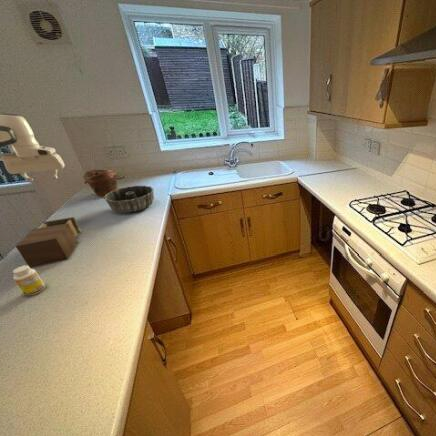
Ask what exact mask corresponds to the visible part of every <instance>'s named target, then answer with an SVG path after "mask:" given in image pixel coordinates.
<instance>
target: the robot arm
mask: <svg viewBox="0 0 436 436" xmlns="http://www.w3.org/2000/svg"><path fill="white" fill-rule="evenodd" d="M39 143H40V142H38V141H37V139H36V138H35V133H34V131H33V129H32V127H31V126H30V124H29V122H28V121H27V119H26V118H25V117H24V116H22V115H19V114H15V113H0V148H3V147H8V146H9V145H10V146H11V148H12V150H13V152H4V153H2V154H1V155H0V159H1V161H2V162H3V165H4V166H5V170H6V171H7V173H8V174H11V175H16V174H20V176H21V177H22V178H23V179H25V180H26V182H28V183H30V182H34V178H33V176H28V175H27V173H35V172H36V173H38V172H45V171H46V172H47V171H52V172H51V173H53V174H52V175H51V178H52V179H53V180H57V179H59V177H58V171H59V170H63V169H64V168H65V167H66V164H65V162H64V160H63V159H62V157H61V155H59V153H57V152H56V149H55V148H54V147H50V146H44V145H40V144H39Z"/></svg>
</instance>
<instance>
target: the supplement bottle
mask: <svg viewBox="0 0 436 436" xmlns="http://www.w3.org/2000/svg"><path fill="white" fill-rule="evenodd" d="M12 273H13V280H14V281H15V283H16V284H17V286H18V287H19V289H20V290H21V292H23V294H24V295H25V296H34V295H36V294H39V293H41V292H42V291H43V290H45V288H46V284H45V283H44V281H43V280H42V279H41V277H40V275H39V274H38V272H37V271H36V269H34V268H31V267H29V266H28V264H27V265H22V266H21V265H20V266H19V267H16V268H14V269H13V270H12Z"/></svg>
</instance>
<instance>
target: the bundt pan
mask: <svg viewBox="0 0 436 436" xmlns="http://www.w3.org/2000/svg"><path fill="white" fill-rule="evenodd" d="M103 199H104V201H105V202H106V203H107V205H108V206H109V208H110V209H112V210H113V211H114V212H118V213H120V214H124V213H126V214H127V213H132V212H134V213H136V212H137V211H142V210H144V209H148V208H149V207H150V206H151V205H152V204H153V203H154V200H155V196H154V188H153V187H152V186H150V185H149V186H148V185H132V186H130V185H129V186H126V187H119V188H117V190H115V191H111V192H110V193H108V194H106V195H105V196H104V197H103Z"/></svg>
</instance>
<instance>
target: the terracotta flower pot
mask: <svg viewBox="0 0 436 436" xmlns="http://www.w3.org/2000/svg"><path fill="white" fill-rule="evenodd" d="M117 176H118V173H117V172H116V170H114V169H107V170H106V169H105V170H104V169H91V170H87V171H86V172H85V173H84V174H83V181H84V185H88V186H89V187H90V188H91V189H92V191H93V193H94V194H95V196H97V197H103V198H104V197H105V195H106V194H108V193H110V192H111V191H115V190H117V189H118V185H117V184H118V181H117Z"/></svg>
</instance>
